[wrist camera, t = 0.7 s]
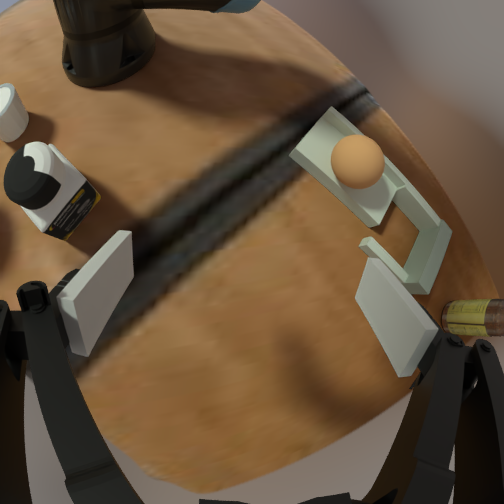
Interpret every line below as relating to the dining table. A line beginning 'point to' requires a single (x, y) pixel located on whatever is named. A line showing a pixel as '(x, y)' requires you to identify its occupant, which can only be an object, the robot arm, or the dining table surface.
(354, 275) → the dining table surface
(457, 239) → the dining table surface
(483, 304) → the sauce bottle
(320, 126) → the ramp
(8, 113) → the white tapered cup
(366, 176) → the ball
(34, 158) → the medicine bottle
